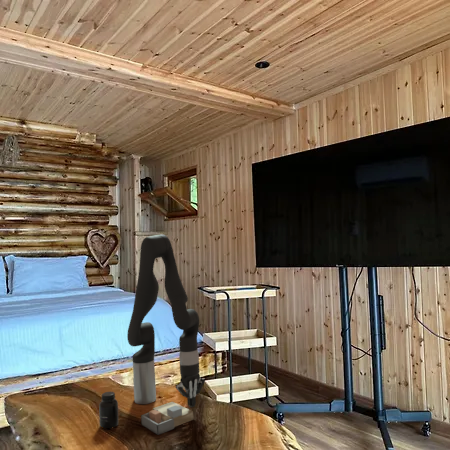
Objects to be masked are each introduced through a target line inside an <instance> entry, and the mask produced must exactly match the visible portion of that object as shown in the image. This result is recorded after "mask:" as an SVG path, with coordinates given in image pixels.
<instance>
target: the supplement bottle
mask: <svg viewBox="0 0 450 450" xmlns="http://www.w3.org/2000/svg"><path fill="white" fill-rule="evenodd" d="M115 395H116V393H115V392H114V391H106V392H103V393H102V394H101V401H100V402H99V405H98V407H99V411H98V412H99V413H98V414H99V415H98V416H99V427H100V426H101V427H103V428H112V427H114V428H116V427H117V426H119V402H118V400H117V399H116V396H115ZM115 426H116V427H115ZM101 427H100V428H101ZM112 429H113V428H112Z"/></svg>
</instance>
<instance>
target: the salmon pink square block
mask: <svg viewBox="0 0 450 450" xmlns="http://www.w3.org/2000/svg"><path fill="white" fill-rule="evenodd" d="M148 413H149V416H150V419H151V420H152V421H154V422H156V423H157V424H159V423H161V412H159V411H157V410H153V409H152V410H150V411H149V412H148Z"/></svg>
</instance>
